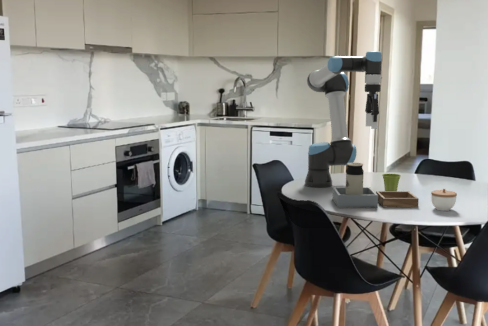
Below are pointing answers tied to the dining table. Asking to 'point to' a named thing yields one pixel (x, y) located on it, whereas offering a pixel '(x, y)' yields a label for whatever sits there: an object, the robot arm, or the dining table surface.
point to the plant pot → (391, 181)
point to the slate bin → (355, 198)
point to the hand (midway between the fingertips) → (371, 127)
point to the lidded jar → (443, 199)
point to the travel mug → (354, 179)
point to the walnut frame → (397, 199)
